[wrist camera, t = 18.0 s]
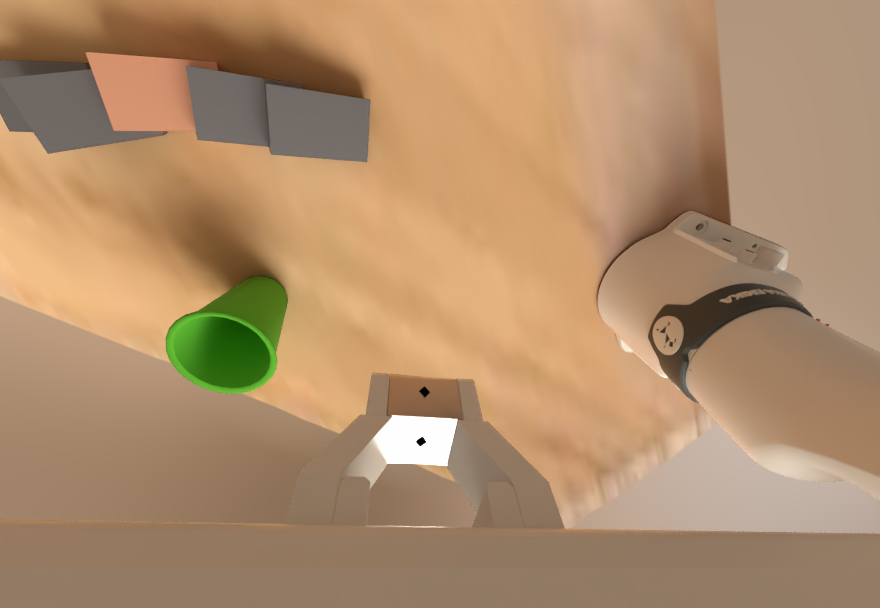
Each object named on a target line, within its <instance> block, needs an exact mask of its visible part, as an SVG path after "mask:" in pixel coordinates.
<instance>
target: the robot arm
mask: <svg viewBox="0 0 880 608" xmlns="http://www.w3.org/2000/svg"><path fill="white" fill-rule="evenodd" d="M698 224H699V226H698V227H697V228H696V226H697V225H698ZM787 262H788V250H787V249H785V248H784V247H782V246H780V245H778V244H775V243H773V242H771V241H768V240H766V239H763V238H761V237H758V236H755V235H753V234H750V233H748V232H745V231H743V230H740V229H738V228H735V227H733V226H730V225H728V224H725V223H723V222H720V221H718V220H715V219H713V218H710V217H708V216H705V215H703V214H700V213H698V212H695V211H688V212H685V213H683V214H682V215H680V216H679V217H678V218H676V219H675V220H674V221H673V222H672V223H670V224H669V225H668V226H667V227H666V228H665V229H663V230H661V231H660V232H658V233H655V234H653V235H651V236H649V237H646V238H644V239H642V240H640V241H639V242H637V243H635V244H634V245H632V246H631V247H630V248H628V249H627V250H626V251H625V252H623V253H622V254H621V255H620V256H619V257H618V258H617V259H616V260H615V262H614V263H613V264H612V265H611V267H610V268H609V269H608V271H607V273H606V274H605V276H604V278H603V280H602V283H601V285H600V289H599V293H598V309H599V313H600V315H601V318H602V319H603V321H604V322H605V323H606V324H607V325H608V326H609V327H610V328H611V329H612V330H613V331H614V332H615V334H616V338H617V341H618V344H619V346H620V347H621V348H622V349H623V350H624V351H626V352H635V353H636V354H637V355H638V356H639V357H640V358H641V359H642V360H643V361H644V362H646V363H647V364H648V365H649V366H650V367H651V368H652V369H653V370H654V371H655V372H657V373H658V374H659V375H660V376H662V377H664V378H667V377H669V379H670V380H671V382H672V383H673V384H674V385H675V386H676V388H677V389H679V390H680V391H682V392H683V393H684V394H685V395H686V396H687V397H688V398H690V399H691V400H692V401H694V402H697V403H699V404H701V405H702V406H703V408H704V409H705V410H706V411H707V412H708V413H709V414H710V415H711V416H712V417H713V418H714V419H715V420H716V421H717V422H718V423H719V425H720V426H721V427H722V428H723V429H724V430H725V431H726V432H727V433H728V434H729V435H730V436H731V437H732V438H733V439H734V440H735V441H736V442H737V444H738V445H740V447H741V448H742V449H743V450H744V451H745V452H746V453H747V454H748V455H749V456H750V458H752V459H753V460H754V461H755V462H756V463H758V464H759V465H761V466H762V467H764V468H766V469H768V470H770V471H772V472H774V473H777V474H779V475H783V476H786V477H790V478H794V479H799V480H805V481H813V482H836V481H848V482H850V483H852V484H853V485H855V486H857V487H859V488H860V489H862V490H863V491H865V492H867V493H868V494H870V495H871V496H873V497H874V498H876V499H877V500H879V501H880V352H878V351H876V350H874V349H872V348H870V347H868V346H866V345H864V344H862V343H859V342H858V341H856V340H853V339H851V338H850V337H848V336H846V335H844V334H842V333H840V332H838V331H836V330H834V329H832V328H830V327H828V326H829V324H826V325H825V324H823V323H821V322H820V319H816V320H815V319H814V318H813V317H812V315H811V314H810V312H808V310H807V309H806V308H804V307H803V304H802V303H800V299H801V296H802V292H803V286H802V282H801V280H800V279H799V278H797V277H795V276H793V275H791V274H789V273H787V272H785V269H786V266H787ZM387 463H416V464H432V465H447V468H448V470H449V471H450V473H451V474H452V476H453V477H454V479H455V480H456V482H457V483H458V485H459V486H460V488H461V489H462V491H463V493H464V494H465V496H466V497H467V499H468V500H469V502H470V503H471V505H472V506H473V508H474V509H475V511H476V512H477V515H476V518H475V520H474V523H473V526H472V527H423V526H367V525H366V524H367V513H368V503H369V492H370V488H371V487H372V485H373V484H374V482H375V481H376V479H377V478H378V477H379V475H380V474H381V473H382V471H383V470H384V468H385V467H386V465H387ZM0 608H880V534H867V533H863V534H862V533H795V532H794V533H792V532H733V531H732V532H731V531H674V530H673V531H672V530H614V529H612V530H611V529H565V528H564V525H563V522H562V519H561V516H560V514H559V511H558V508H557V505H556V502H555V499H554V496H553V493H552V491H551V488H550V485H549V482H548V481H547V480H546V479H545V478H544V477H543V476H542V475H541V474H540V473H539V472H538V471H537V470H536V469H535V468H534V467H533V466H532V465H531V464H530V463H529V462H528V461H527V460H526V459H525V458H524V457H523V456H522V455H521V454H520V453H519V452H518V451H517V450H516V449H515V448H514V447H513V446H512V445H511V444H510V443H509V442H508V441H507V440H506V439H505V438H504V437H503V436H502V435H501V434H500V433H499V432H498V431H497V430H496V429H495V428H494V427H493V426H492V425H491V424H490V423H489V422H484V421H483V418H482V414H481V409H480V405H479V400H478V396H477V391H476V387H475V382H474V381H473V380H472V379H449V378H433V377H419V376H409V375H398V374H384V373H372V376H371V382H370V389H369V396H368V402H367V409H366V415H360V416H358V417H357V418H356V419H355V420H354V421H353V422H352V423H351V424H350V425H349V426H348V427H347V428H346V429H345V430H344V431H343V432H342V433H341V434H340V435H338V437H336V438H335V439H334V440H333V441H332V442H331V443H330V444H329V445H328V446H327V447H326V448H325V449H324V450H323V451H322V452H321V453H320V454H319V455H317V456H316V457H315V458H314V459H313V461H311V462H310V463H309V464H308V465H307V466H306V467H305V468H304V469H303V470H302V471H301V472H300V473H299V475H298V479H297V482H296V485H295V489H294V492H293V496H292V498H291V502H290V505H289V508H288V512H287V515H286V518H285V522H284V524H246V523H186V522H185V523H184V522H126V521H125V522H124V521H64V520H63V521H62V520H2V519H0Z"/></svg>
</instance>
